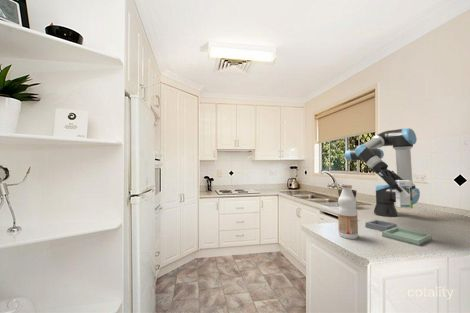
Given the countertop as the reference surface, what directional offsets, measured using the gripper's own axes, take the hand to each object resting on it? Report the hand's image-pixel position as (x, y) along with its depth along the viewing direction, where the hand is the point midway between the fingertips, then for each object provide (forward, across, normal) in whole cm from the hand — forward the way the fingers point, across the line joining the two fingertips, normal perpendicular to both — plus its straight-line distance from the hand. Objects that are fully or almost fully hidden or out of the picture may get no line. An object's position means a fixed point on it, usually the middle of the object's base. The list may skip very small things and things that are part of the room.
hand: (411, 196), depth 113 cm
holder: (+2, -8, -30) cm, 31 cm away
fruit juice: (+1, +23, -31) cm, 39 cm away
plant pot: (-30, -48, -62) cm, 84 cm away
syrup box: (+2, 0, -7) cm, 7 cm away
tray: (+14, 0, -18) cm, 23 cm away
